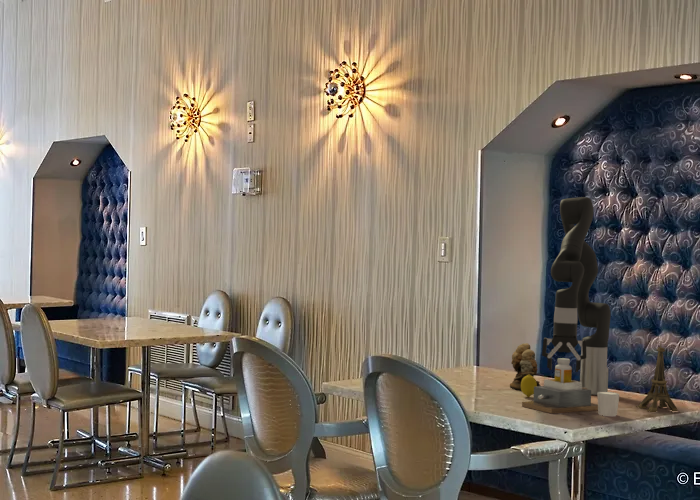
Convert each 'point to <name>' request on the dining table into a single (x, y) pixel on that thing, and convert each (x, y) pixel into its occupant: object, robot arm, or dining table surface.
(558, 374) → the supplement bottle
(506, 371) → the dining table surface
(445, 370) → the dining table surface
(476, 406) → the dining table surface
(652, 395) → the eiffel tower
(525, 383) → the lemon
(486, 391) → the dining table surface
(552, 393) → the grey and brown box
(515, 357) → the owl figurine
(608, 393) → the white cup
